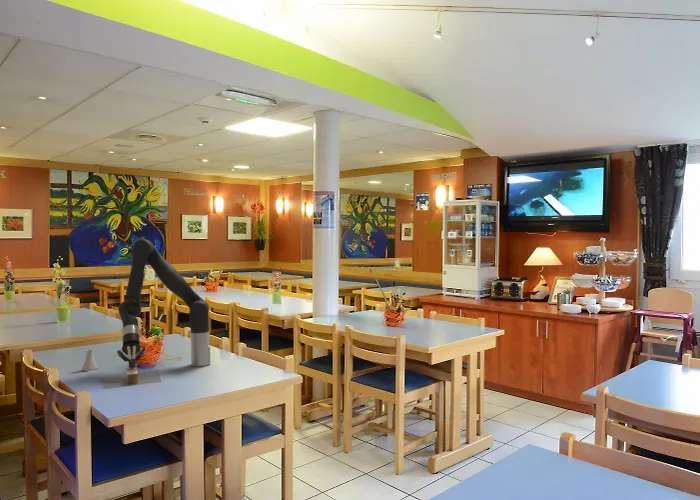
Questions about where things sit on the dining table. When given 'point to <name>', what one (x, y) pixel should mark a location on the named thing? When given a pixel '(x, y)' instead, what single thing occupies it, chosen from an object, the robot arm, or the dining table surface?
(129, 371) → the maple block
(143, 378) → the rubber mat
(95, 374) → the dining table surface
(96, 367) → the flask
